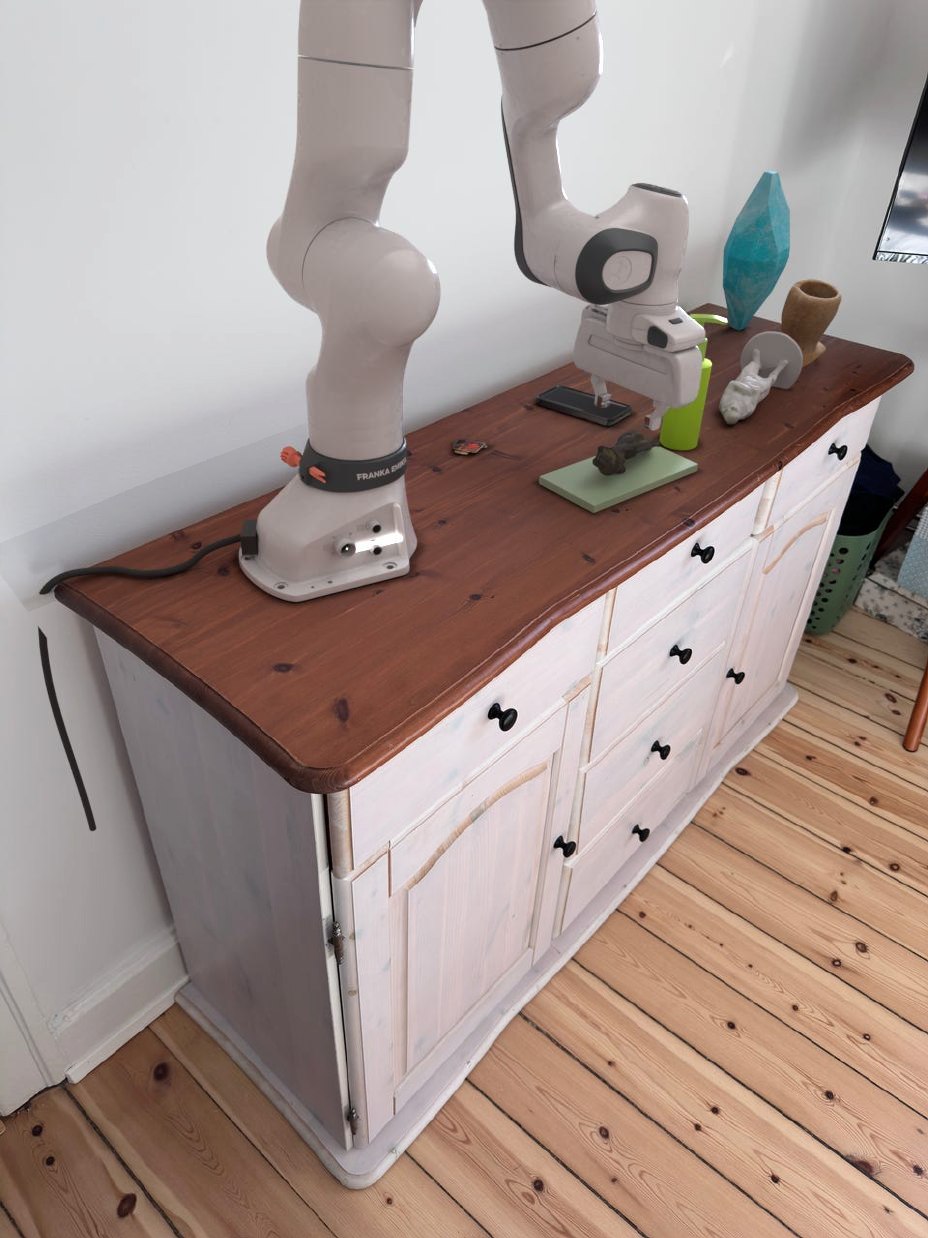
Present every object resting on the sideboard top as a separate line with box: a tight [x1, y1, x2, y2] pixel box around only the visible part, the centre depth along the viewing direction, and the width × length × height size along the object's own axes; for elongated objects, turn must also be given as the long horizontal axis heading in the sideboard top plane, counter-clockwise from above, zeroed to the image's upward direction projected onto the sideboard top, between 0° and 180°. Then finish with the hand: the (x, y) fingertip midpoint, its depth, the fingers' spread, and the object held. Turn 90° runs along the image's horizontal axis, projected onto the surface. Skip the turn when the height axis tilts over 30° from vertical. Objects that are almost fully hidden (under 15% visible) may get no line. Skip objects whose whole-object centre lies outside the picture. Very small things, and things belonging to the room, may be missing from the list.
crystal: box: [722, 170, 791, 331], centre depth 186 cm, size 12×14×30 cm
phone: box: [535, 385, 633, 427], centre depth 156 cm, size 8×1×15 cm
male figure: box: [718, 330, 803, 425], centre depth 158 cm, size 11×10×25 cm
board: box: [538, 446, 699, 514], centre depth 135 cm, size 22×11×1 cm, turn 129°
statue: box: [592, 429, 660, 476], centre depth 133 cm, size 6×6×20 cm
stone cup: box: [780, 278, 842, 368], centre depth 174 cm, size 15×12×15 cm
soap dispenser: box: [659, 313, 728, 451], centre depth 140 cm, size 6×7×20 cm
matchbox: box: [452, 439, 488, 455], centre depth 142 cm, size 5×5×1 cm
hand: (626, 417), depth 130 cm, fingers open, 8 cm apart
